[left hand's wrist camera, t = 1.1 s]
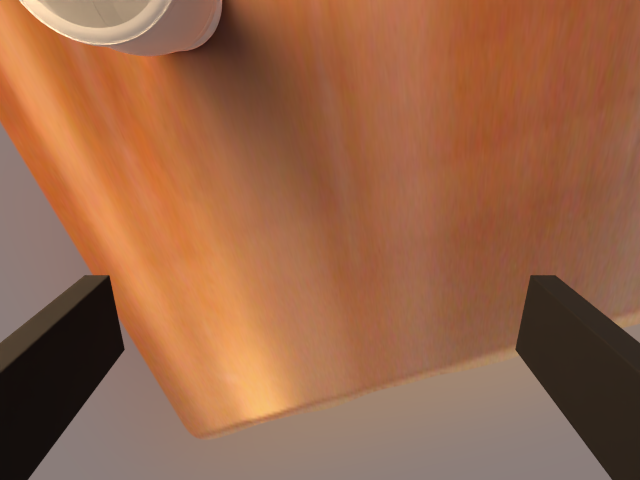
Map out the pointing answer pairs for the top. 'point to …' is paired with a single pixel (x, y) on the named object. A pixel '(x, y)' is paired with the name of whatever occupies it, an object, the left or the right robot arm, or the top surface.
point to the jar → (132, 23)
